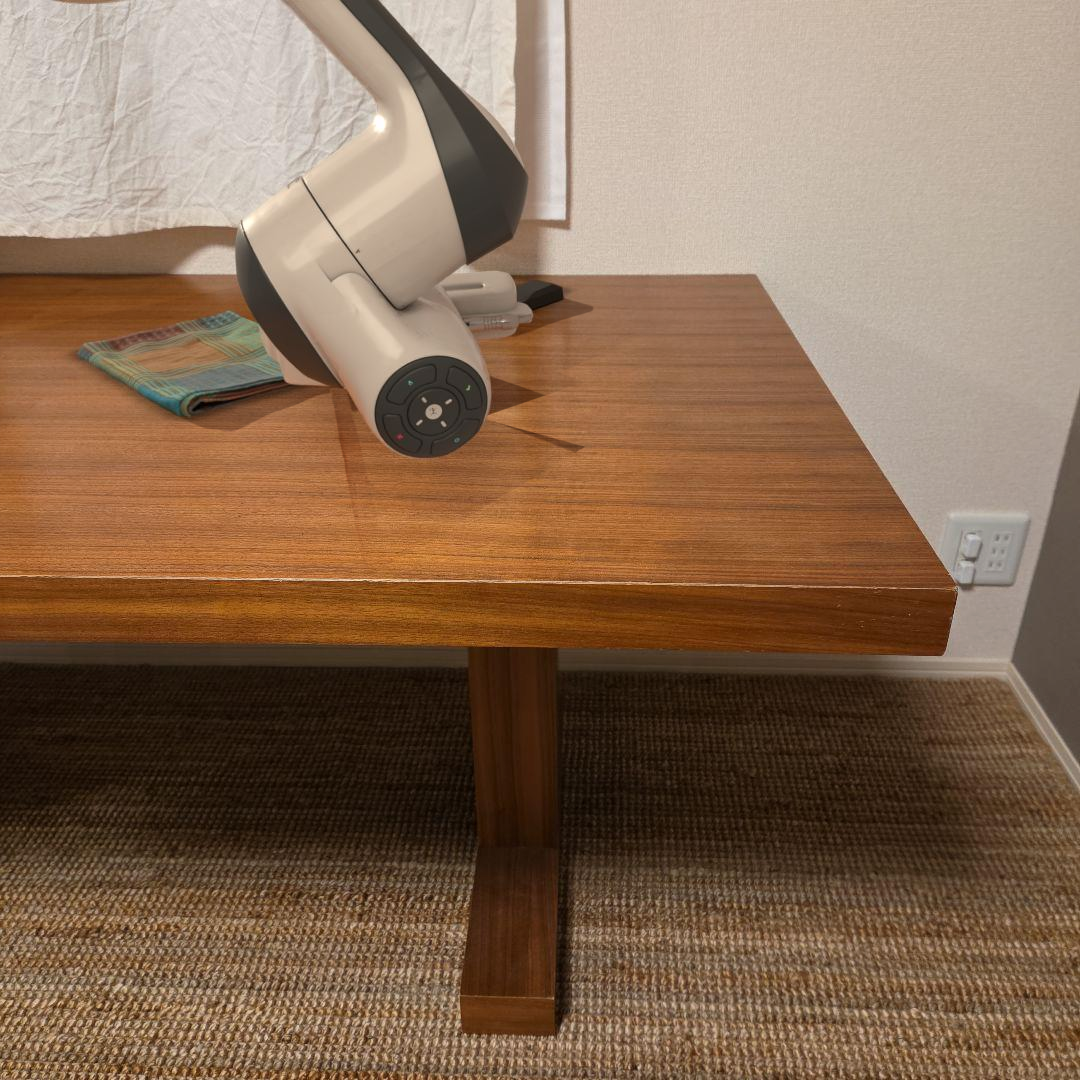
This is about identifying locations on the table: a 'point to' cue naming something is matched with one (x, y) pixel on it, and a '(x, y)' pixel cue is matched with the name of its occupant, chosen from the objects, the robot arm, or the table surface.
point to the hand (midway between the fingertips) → (379, 284)
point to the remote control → (538, 293)
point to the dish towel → (191, 363)
